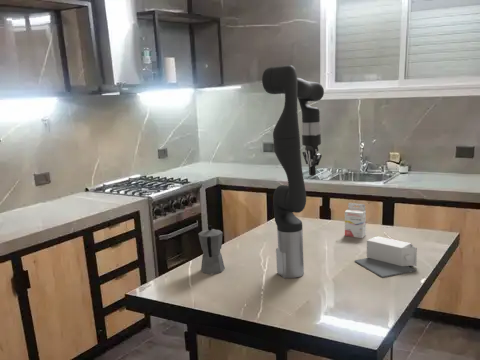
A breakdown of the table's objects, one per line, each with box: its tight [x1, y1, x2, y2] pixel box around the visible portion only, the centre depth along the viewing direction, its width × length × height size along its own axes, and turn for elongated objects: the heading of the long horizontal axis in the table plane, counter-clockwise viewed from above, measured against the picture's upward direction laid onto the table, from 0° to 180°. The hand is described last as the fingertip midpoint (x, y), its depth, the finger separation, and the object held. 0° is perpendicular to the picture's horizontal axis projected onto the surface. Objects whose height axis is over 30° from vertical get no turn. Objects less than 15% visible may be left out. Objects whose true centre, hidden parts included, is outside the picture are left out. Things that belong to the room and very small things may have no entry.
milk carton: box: [366, 235, 418, 267], centre depth 180 cm, size 7×7×19 cm
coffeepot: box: [198, 225, 226, 275], centre depth 180 cm, size 15×9×18 cm, turn 179°
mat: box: [354, 257, 416, 278], centre depth 177 cm, size 14×18×1 cm
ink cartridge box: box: [344, 202, 367, 239], centre depth 213 cm, size 9×5×15 cm, turn 58°
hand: (312, 175), depth 194 cm, fingers closed
